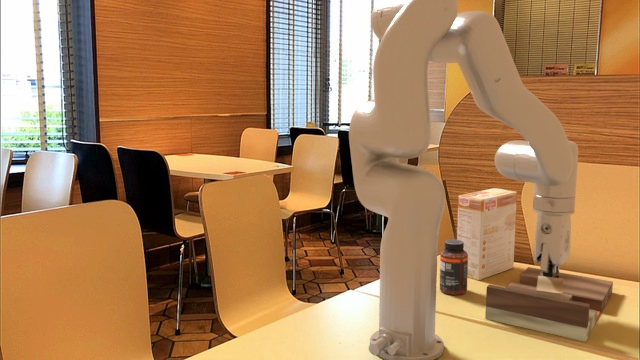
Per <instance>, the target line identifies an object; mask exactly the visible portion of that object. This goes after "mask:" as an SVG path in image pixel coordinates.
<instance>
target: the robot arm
mask: <svg viewBox="0 0 640 360" xmlns="http://www.w3.org/2000/svg"><path fill="white" fill-rule="evenodd" d="M458 10H459V2H458V0H379V1H378V2H377V3H376V4H375V6H374V7H373V9H372V12H371V15H370V16H371V17H370V23H371V28H372V30H373V33H374V34H375V36H376V37H377V38H378V40H380V42H379V44H378V46H377V49H376V52H375V56H374V59H373V60H374V61H373V66H372V67H373V70H372V75H373V77H372V78H373V96H374V99H370V100H367V101H365V102H363V103H362V104H360V105H359V106H358V107H357V108H356V109H355V111H354V113H353V114H352V116H351V118H350V119H351V120H350V122H349V126H348V127H349V128H348V141H349V149H350V150H349V151H350V158H351V166H352V169H351V170H352V177H353V184H354V190H355V193H356V197H357V198H358V201H359V203H360V204H361V205H362V206H363V207H364V208H365V209H367V210H369V211H371V212H373V213H375V214H378V215H382V216H383V217H387V219H388V220H387V222H386V223H387V224H386V227H385V229H384V231H383V234H382V237H381V241H380V250H379V260H380V261H379V308H378V309H379V313H378V314H379V317H378V318H379V319H378V320H379V321H378V322H379V323H378V330H377V331H375V332H373V334H372V335H371V336H370V338H369V346H368V351H369V353H370V354H371V355H373V356H378V357H381V358H382V359H384V360H436V359H438V358H439V357H441V356H442V355H443V352H444V348H445V344H444V343H445V342H444V341H443V339H442V338H441V337H440V336H439V335H437V334H436V311H437V310H436V308H437V278H438V277H437V275H438V247H439V233H440V227H441V223H442V218H443V213H444V209H445V205H446V190H445V187H444V184H443V183H442V180H441V179H440V178H439V176H437V174H435V173H434V172H432V171H431V170H429V169H426V168H424V167H421V166H418V165H412V164H408V163H403V162H401V163H400V159H403V160H404V159H415V158H418V157H420V156H422V155H423V154H424V153H426V152H427V150H428V148H429V146H430V144H431V140H432V125H431V124H432V123H431V122H432V121H431V112H430V111H431V110H430V99H429V87H428V82H429V81H428V70H429V69H428V66H429V63H430V62H433V63H437V64H444V65H445V64H446V65H447V64H457V65H458V66H459V69H460V71H461V74H462V76H463V77H464V80H465V83H466V84H467V86H468V87H467V88H468V89H469V91H470V93H471V96H472V98H473V101H474V103H475V105H476V107H477V108H478V109H479V110H480V111H482V112H483V113H485V114H487V115H488V116H490V117H492V118H493V119H495V120H497V121H499V122H501V123H503V124H505V125H507V126H508V127H510V128H512V129H513V130H514V131H516V132H517V133H518V134H520V135H521V136H522V138H524V140H517V139H515V140H510V141H507V142H505V143H503V144H502V145H501V146H499V147H498V149H497V151H496V152H495V154H494V166H495V168H496V170H497V171H498V173H499V174H500V175H501V176H503V177H504V178H507V179H510V180H514V181H519V182H525V183H530V184H533V195H532V196H533V197H532V211H533V212H534V213H537V214H536V221H535V225H536V226H535V233H534V249H533V250H534V251H533V259H534V262H536V263H537V264H539V263H540V267H539V269H540V276H545V277H553V278H559V275H558V274H559V272H560V267H561V266H562V265H563V264H564V263H565V262H566V261H567V260H568V258H569V257H570V255H571V239H572V238H571V233H572V232H571V229H572V226H571V225H572V222H571V221H572V218H571V215H573V214H575V210H576V209H575V208H576V206H575V205H576V191H577V176H578V161H579V146H578V144H577V142H574V141H572V140H569V139H568V136H567V133H566V130H565V129H564V127H563V124H562V123H561V120H559V118H558V117H557V116H556V115H555V114H554V112H553V111H552V110H550V109H549V108H548V107H547V105H545V103H543V102H542V101H541V99H539V98H538V97H537V96H536V95H535V94H534V93H532V92H531V91H530V90H529V89H528V88H526V86H525V85H524V83H523V81H522V79H521V76H520V74H519V71H518V69H517V66H516V64H515V61H514V58H513V56H512V53H511V52H510V51H511V50H510V47H509V46H508V44H507V42H506V38H505V36H504V33H503V31H502V28H501V26H500V24H499V22H498V20H497V18H496V17H495V16H494V15H493V14H492V13H490V12H488V11H484V10H470V11H463V12H458Z"/></svg>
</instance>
